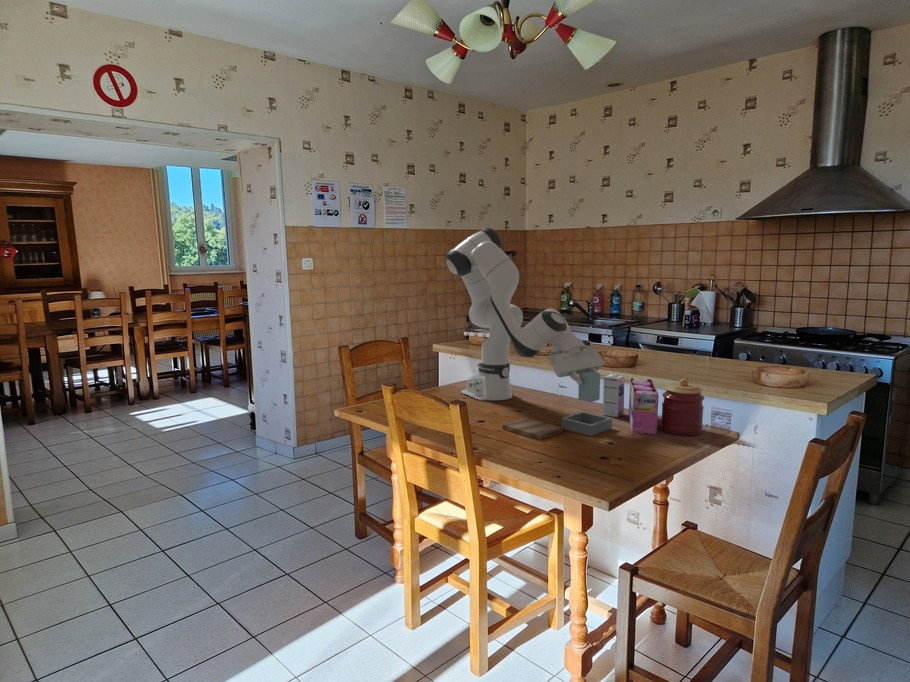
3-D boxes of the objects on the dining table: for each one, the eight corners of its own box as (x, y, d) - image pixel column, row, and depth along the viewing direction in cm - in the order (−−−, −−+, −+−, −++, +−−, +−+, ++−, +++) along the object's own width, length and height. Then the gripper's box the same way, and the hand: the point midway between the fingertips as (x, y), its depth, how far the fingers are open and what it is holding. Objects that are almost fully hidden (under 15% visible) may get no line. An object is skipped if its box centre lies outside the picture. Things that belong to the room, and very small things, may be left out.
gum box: (627, 413, 214) (629, 377, 212) (650, 414, 213) (652, 378, 210) (632, 433, 191) (633, 392, 189) (657, 434, 190) (659, 394, 187)
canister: (674, 422, 203) (677, 372, 200) (710, 431, 192) (713, 379, 190) (652, 429, 195) (655, 377, 192) (688, 439, 185) (691, 384, 182)
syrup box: (617, 417, 209) (619, 378, 206) (602, 415, 212) (603, 376, 210) (623, 414, 213) (625, 375, 211) (608, 411, 217) (609, 373, 214)
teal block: (578, 399, 196) (579, 373, 194) (586, 396, 199) (587, 371, 197) (591, 402, 192) (591, 375, 190) (599, 399, 195) (600, 373, 194)
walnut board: (502, 429, 196) (502, 424, 196) (525, 421, 204) (525, 417, 204) (539, 440, 185) (539, 435, 184) (562, 432, 193) (562, 427, 192)
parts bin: (561, 428, 197) (561, 418, 196) (581, 421, 205) (582, 411, 204) (591, 436, 188) (591, 425, 187) (611, 428, 196) (612, 418, 195)
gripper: (550, 347, 193) (571, 381, 187) (594, 340, 204) (615, 373, 198) (541, 358, 198) (561, 392, 191) (584, 351, 208) (605, 383, 202)
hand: (589, 382), depth 194 cm, fingers closed on teal block, 5 cm apart
